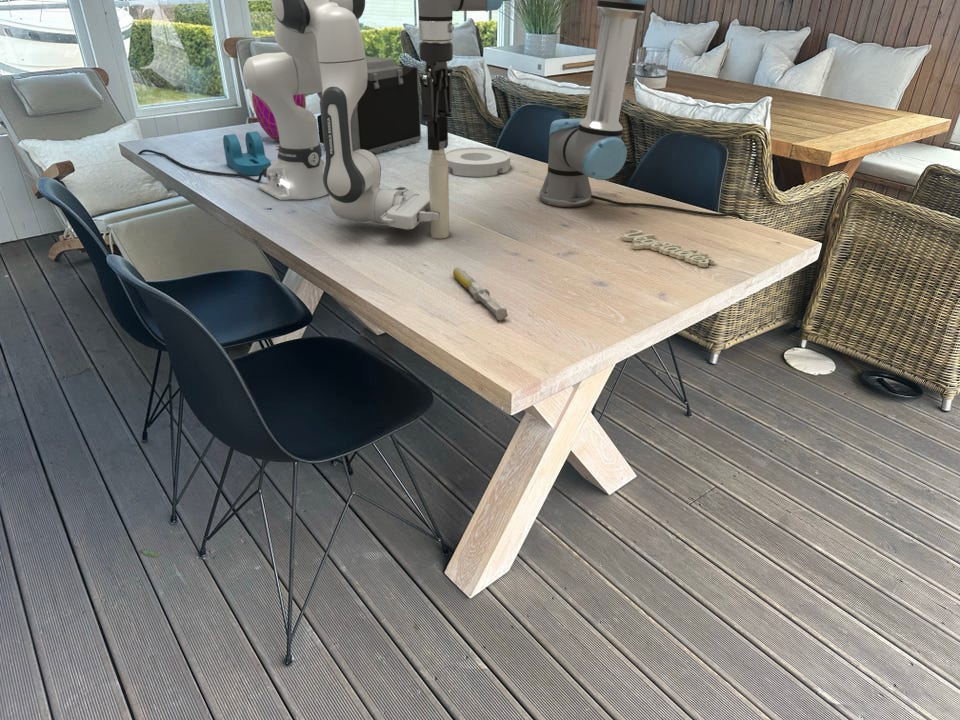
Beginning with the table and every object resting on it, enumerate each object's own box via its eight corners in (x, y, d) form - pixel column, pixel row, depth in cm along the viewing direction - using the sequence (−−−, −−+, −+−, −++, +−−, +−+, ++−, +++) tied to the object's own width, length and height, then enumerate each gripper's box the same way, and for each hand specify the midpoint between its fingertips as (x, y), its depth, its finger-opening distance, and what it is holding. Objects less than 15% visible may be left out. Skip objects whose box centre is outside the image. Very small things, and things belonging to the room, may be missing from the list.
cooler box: (383, 133, 276) (378, 52, 261) (425, 141, 265) (422, 56, 250) (314, 150, 251) (304, 61, 235) (358, 160, 240) (350, 67, 224)
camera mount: (227, 164, 233) (221, 132, 227) (257, 160, 238) (252, 129, 233) (244, 176, 220) (239, 143, 215) (276, 172, 225) (271, 139, 220)
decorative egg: (293, 132, 276) (283, 50, 261) (319, 140, 264) (310, 56, 249) (249, 139, 265) (236, 54, 250) (273, 148, 253) (261, 60, 238)
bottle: (427, 234, 177) (424, 141, 166) (442, 230, 180) (441, 139, 168) (436, 239, 174) (434, 145, 162) (452, 236, 176) (451, 143, 165)
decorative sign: (608, 236, 174) (633, 227, 180) (608, 240, 175) (632, 231, 180) (698, 267, 157) (722, 256, 163) (698, 271, 158) (721, 260, 163)
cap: (442, 144, 168) (442, 137, 167) (449, 148, 165) (449, 141, 164) (426, 146, 166) (426, 138, 166) (433, 150, 163) (432, 142, 162)
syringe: (449, 274, 155) (449, 263, 153) (465, 272, 156) (464, 260, 154) (490, 323, 135) (491, 310, 133) (508, 319, 136) (508, 307, 134)
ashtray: (444, 158, 243) (444, 146, 241) (509, 159, 243) (510, 147, 241) (439, 176, 224) (438, 163, 222) (510, 177, 223) (510, 165, 221)
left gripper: (375, 207, 166) (429, 213, 163) (404, 184, 183) (453, 188, 180) (377, 232, 169) (430, 238, 167) (405, 207, 187) (454, 212, 184)
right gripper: (435, 46, 146) (437, 157, 157) (465, 38, 160) (465, 141, 172) (403, 44, 148) (408, 154, 160) (436, 37, 162) (438, 138, 174)
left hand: (442, 212), depth 174 cm, fingers closed on bottle, 5 cm apart
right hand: (438, 147), depth 166 cm, fingers open, 4 cm apart
